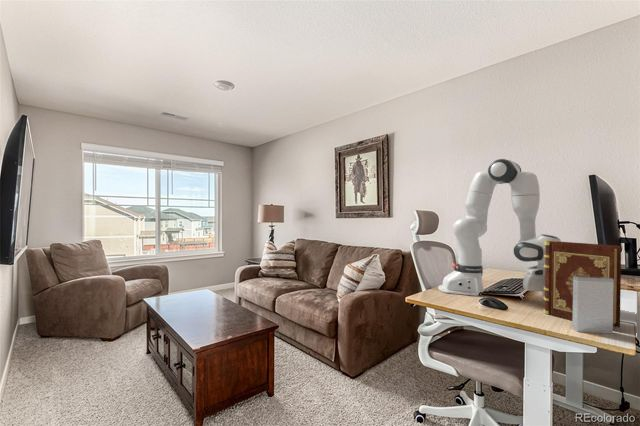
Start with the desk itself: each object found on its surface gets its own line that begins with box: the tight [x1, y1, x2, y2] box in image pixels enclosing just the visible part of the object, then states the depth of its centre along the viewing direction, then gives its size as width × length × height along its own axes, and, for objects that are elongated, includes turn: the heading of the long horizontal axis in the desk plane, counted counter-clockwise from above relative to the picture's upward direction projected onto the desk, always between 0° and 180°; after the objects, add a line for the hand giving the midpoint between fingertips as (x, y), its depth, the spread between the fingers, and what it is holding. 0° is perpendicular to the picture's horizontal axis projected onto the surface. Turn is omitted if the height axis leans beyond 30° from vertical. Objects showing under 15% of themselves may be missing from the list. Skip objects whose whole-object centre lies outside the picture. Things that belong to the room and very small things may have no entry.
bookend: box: [571, 276, 614, 335], centre depth 106 cm, size 11×2×19 cm, turn 81°
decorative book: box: [543, 241, 622, 331], centre depth 118 cm, size 22×8×30 cm, turn 31°
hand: (548, 301), depth 135 cm, fingers closed
